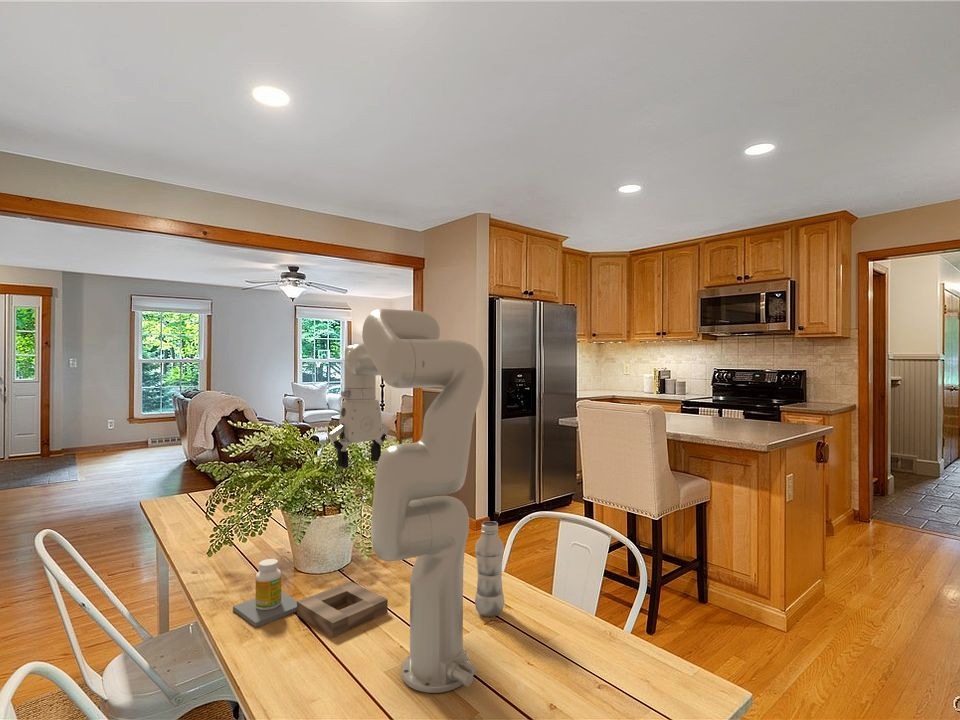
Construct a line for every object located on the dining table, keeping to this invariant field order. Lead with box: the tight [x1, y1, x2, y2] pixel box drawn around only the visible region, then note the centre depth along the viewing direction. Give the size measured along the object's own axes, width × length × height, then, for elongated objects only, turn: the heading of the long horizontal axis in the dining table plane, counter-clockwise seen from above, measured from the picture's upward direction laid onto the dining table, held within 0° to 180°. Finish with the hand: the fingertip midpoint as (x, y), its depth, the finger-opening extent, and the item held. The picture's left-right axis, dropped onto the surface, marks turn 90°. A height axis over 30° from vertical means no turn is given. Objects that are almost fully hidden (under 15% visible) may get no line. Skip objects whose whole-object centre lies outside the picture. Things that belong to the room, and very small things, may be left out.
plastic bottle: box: [474, 520, 505, 618], centre depth 117 cm, size 6×7×20 cm
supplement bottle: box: [255, 558, 282, 610], centre depth 118 cm, size 5×5×10 cm
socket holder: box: [296, 581, 389, 639], centre depth 117 cm, size 14×14×3 cm
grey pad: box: [232, 590, 298, 628], centre depth 118 cm, size 11×11×1 cm
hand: (359, 464), depth 131 cm, fingers open, 9 cm apart
